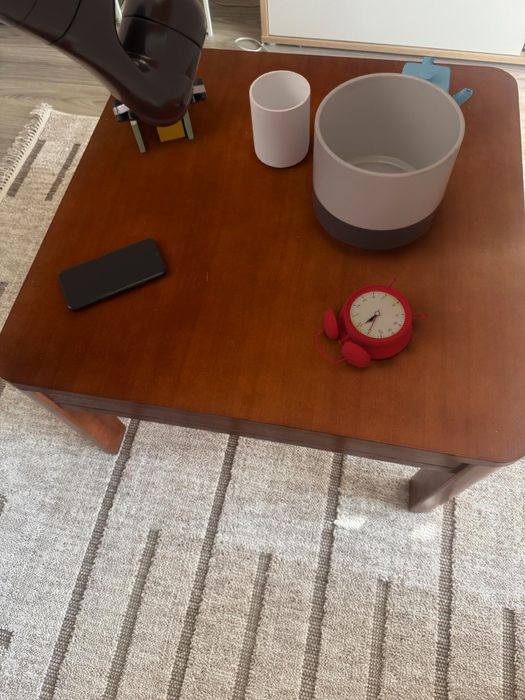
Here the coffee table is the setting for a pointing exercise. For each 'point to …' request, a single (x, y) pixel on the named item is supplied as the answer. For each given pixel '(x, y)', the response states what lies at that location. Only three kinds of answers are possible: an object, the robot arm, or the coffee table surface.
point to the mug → (280, 117)
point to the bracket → (139, 139)
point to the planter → (383, 158)
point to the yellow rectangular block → (171, 132)
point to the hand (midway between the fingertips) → (160, 110)
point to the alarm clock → (370, 325)
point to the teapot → (435, 77)
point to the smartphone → (111, 274)
